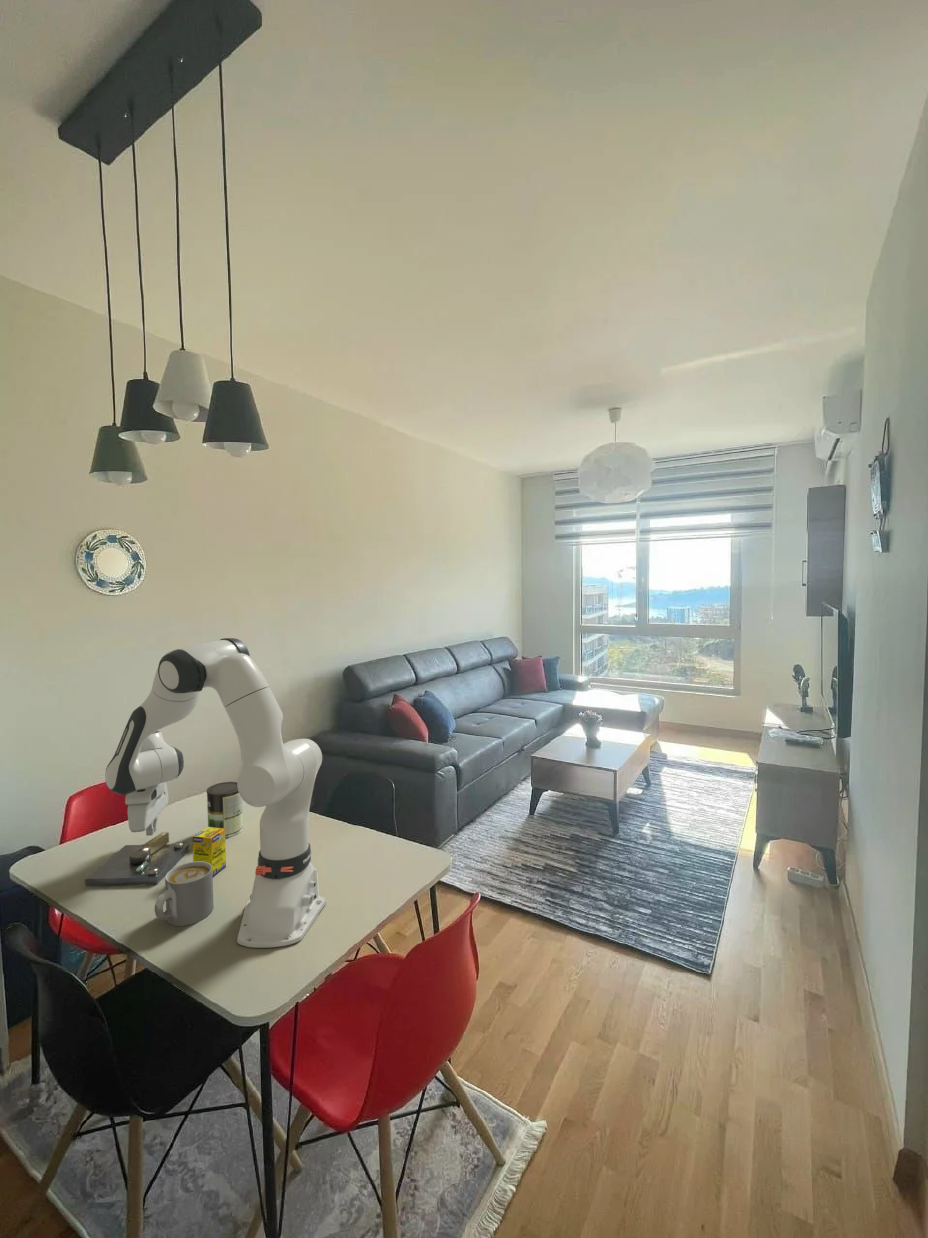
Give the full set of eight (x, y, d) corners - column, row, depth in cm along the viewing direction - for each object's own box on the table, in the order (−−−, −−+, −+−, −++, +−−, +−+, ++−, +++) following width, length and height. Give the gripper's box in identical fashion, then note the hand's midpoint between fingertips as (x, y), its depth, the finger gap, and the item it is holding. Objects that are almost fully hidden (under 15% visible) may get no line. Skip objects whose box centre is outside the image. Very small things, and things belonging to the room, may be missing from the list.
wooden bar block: (141, 864, 145) (140, 853, 145) (125, 863, 146) (124, 852, 146) (173, 842, 158) (173, 832, 157) (158, 841, 158) (158, 831, 158)
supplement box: (212, 878, 143) (211, 838, 142) (192, 876, 144) (191, 836, 143) (226, 866, 149) (225, 828, 148) (207, 864, 150) (206, 826, 149)
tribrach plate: (157, 884, 140) (156, 872, 140) (85, 886, 139) (84, 874, 139) (189, 850, 158) (188, 839, 158) (125, 852, 157) (125, 841, 157)
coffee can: (205, 841, 164) (203, 795, 163) (210, 826, 173) (209, 783, 172) (242, 836, 167) (240, 791, 166) (244, 822, 176) (243, 780, 176)
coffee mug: (199, 896, 135) (198, 857, 134) (221, 909, 129) (220, 869, 128) (142, 923, 124) (141, 881, 123) (164, 939, 118) (162, 895, 118)
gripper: (150, 775, 165) (152, 819, 166) (122, 801, 145) (124, 851, 146) (173, 773, 167) (175, 817, 167) (147, 799, 147) (150, 848, 147)
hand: (151, 833), depth 157 cm, fingers closed
